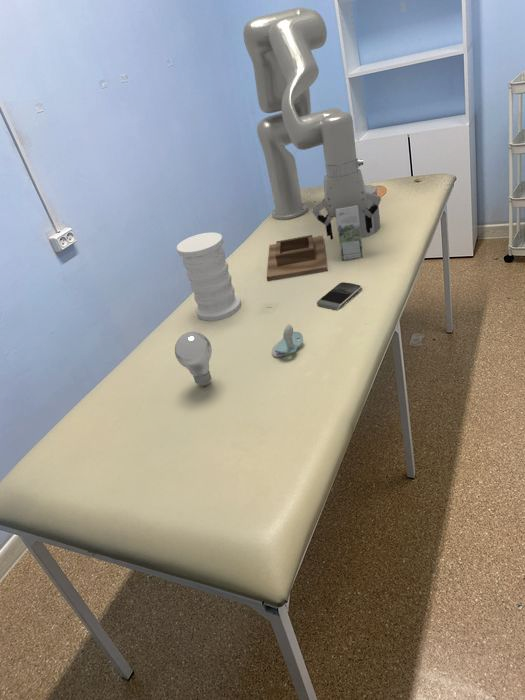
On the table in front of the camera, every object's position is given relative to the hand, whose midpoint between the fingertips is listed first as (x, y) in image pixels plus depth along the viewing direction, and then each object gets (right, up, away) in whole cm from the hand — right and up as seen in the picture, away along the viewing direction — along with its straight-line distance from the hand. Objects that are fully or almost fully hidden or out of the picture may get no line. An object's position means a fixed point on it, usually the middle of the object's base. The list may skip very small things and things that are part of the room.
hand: (349, 234), depth 131 cm
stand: (-13, -5, +9) cm, 17 cm away
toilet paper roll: (+6, +5, +17) cm, 19 cm away
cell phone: (-5, -19, -14) cm, 23 cm away
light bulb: (-34, -38, -32) cm, 60 cm away
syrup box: (+1, -5, +4) cm, 6 cm away
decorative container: (-34, -20, -6) cm, 40 cm away
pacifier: (-18, -31, -27) cm, 45 cm away
